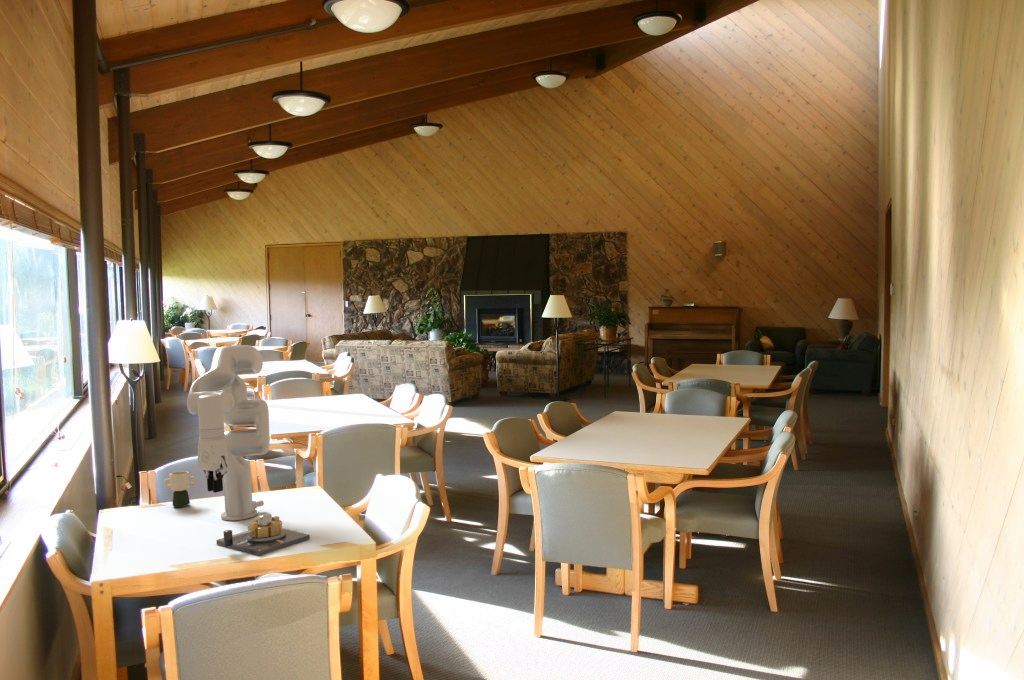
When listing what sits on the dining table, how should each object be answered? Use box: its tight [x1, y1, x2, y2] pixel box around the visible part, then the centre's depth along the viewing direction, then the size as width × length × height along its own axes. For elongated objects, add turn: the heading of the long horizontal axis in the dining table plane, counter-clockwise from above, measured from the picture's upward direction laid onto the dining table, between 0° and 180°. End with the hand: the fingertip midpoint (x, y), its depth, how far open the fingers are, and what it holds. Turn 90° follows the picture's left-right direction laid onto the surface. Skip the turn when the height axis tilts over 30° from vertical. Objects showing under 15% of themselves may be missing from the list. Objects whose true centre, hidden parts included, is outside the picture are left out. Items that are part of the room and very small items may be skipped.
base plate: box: [215, 513, 311, 557], centre depth 280 cm, size 20×22×8 cm
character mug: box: [164, 470, 196, 508], centre depth 329 cm, size 11×7×13 cm, turn 106°
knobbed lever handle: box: [223, 515, 283, 547], centre depth 277 cm, size 20×10×4 cm, turn 143°
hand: (215, 490), depth 272 cm, fingers closed
